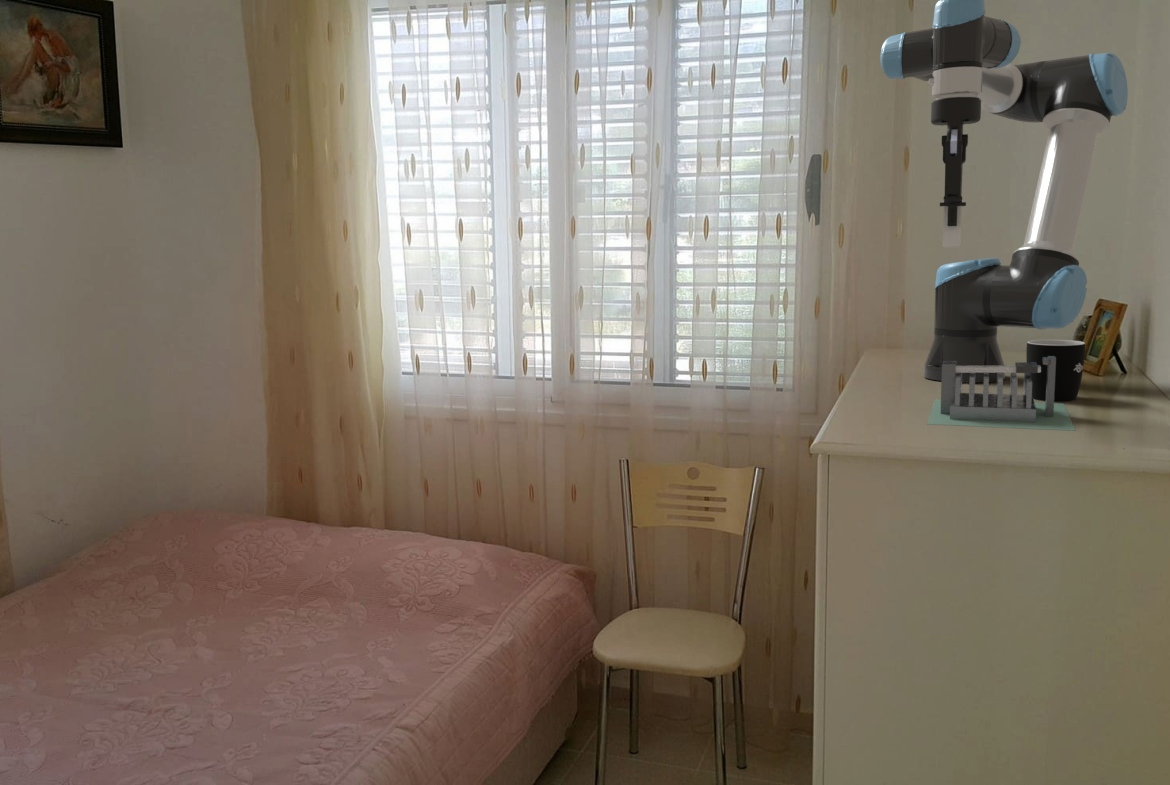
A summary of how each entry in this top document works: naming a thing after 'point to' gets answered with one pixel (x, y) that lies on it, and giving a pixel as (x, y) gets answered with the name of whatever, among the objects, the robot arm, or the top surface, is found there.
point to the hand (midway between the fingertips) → (951, 246)
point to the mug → (1057, 367)
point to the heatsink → (994, 396)
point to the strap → (1002, 368)
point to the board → (1042, 422)
